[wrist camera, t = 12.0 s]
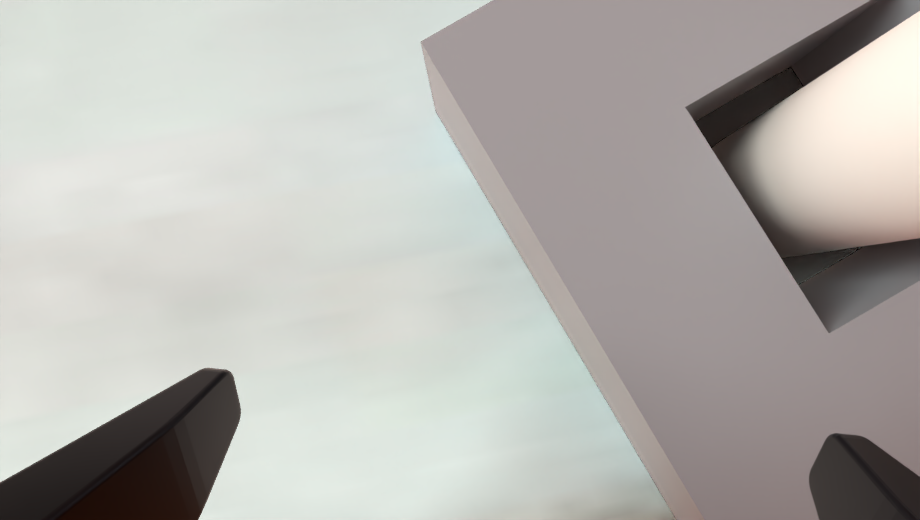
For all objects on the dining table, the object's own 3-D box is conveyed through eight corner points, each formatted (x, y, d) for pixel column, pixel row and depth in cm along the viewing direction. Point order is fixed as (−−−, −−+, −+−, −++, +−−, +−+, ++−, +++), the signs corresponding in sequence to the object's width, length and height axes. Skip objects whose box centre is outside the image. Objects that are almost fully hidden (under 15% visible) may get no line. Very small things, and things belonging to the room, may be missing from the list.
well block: (1107, 280, 18) (1356, 272, 13) (682, 530, 17) (765, 622, 12) (833, -117, 19) (961, -268, 14) (435, 111, 19) (420, 42, 14)
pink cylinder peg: (852, 218, 18) (1594, 53, 6) (738, 284, 18) (1262, 250, 6) (780, 106, 18) (1347, -258, 6) (668, 171, 18) (1028, -74, 6)
